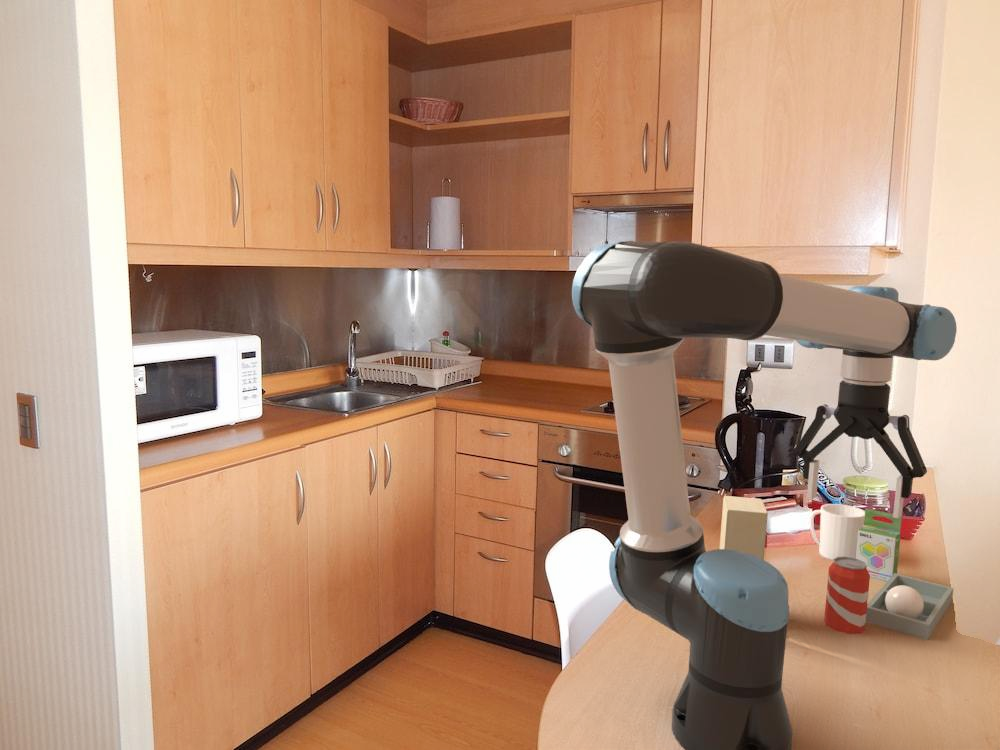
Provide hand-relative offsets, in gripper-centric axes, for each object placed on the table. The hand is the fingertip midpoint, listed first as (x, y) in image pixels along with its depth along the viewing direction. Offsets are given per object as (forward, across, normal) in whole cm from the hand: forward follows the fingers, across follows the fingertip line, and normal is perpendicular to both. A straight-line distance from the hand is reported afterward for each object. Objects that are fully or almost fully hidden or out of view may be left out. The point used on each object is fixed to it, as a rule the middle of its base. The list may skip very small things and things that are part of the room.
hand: (853, 507), depth 131 cm
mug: (+22, +11, -34) cm, 42 cm away
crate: (+22, -8, -14) cm, 27 cm away
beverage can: (+22, 0, 0) cm, 22 cm away
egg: (+21, -8, -9) cm, 24 cm away
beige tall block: (+22, +15, +9) cm, 28 cm away
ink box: (+22, +1, -27) cm, 35 cm away
